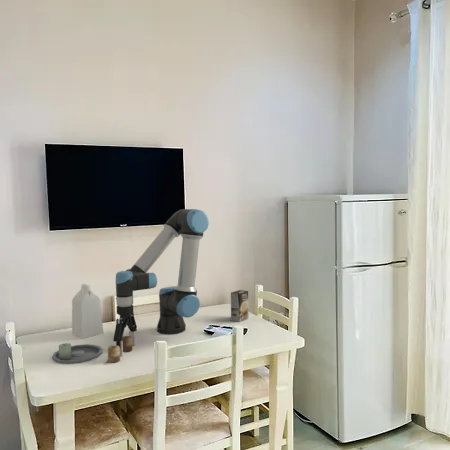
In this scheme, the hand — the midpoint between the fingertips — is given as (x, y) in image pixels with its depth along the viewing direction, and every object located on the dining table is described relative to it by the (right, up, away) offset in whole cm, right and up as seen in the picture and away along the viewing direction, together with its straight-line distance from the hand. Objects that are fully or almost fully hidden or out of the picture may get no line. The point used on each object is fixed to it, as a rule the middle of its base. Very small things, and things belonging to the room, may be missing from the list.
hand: (126, 350), depth 198 cm
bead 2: (-2, -1, -12) cm, 13 cm away
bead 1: (-24, -1, -10) cm, 26 cm away
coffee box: (+54, +4, +46) cm, 72 cm away
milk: (-26, +1, +26) cm, 37 cm away
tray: (-20, -1, -6) cm, 21 cm away
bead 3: (0, 0, 0) cm, 0 cm away
